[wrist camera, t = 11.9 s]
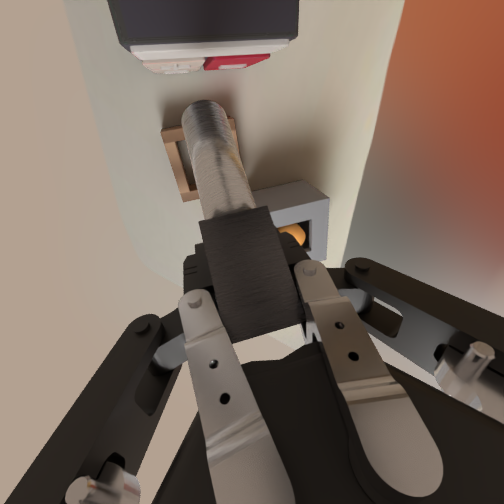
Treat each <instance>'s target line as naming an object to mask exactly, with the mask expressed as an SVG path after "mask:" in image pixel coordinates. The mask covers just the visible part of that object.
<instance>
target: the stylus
mask: <svg viewBox="0 0 504 504" xmlns="http://www.w3.org/2000/svg"><path fill="white" fill-rule="evenodd" d="M181 122H182V127H183V131H184V136H185V140H186V144H187V148H188V152H189V156H190V160H191V165H192V169H193V173H194V177H195V181H196V185H197V189H198V193H199V198H200V202H201V206H202V210H203V214H204V218H205V220H203V221H199V226H200V230H201V234H202V239H203V243H204V247H205V252H206V256H207V260H208V265H209V269H210V273H211V278H212V282H213V286H214V291H215V295H216V299H217V303H218V308H219V312H220V316H221V321H222V324H223V326H224V327H225V329H226V331H227V334H228V336H229V339H230V341H231V343H232V344H233V343H237V342H240V341H243V340H247V339H250V338H253V337H257V336H260V335H263V334H267V333H270V332H273V331H277V330H280V329H283V328H287V327H290V326H293V325H297V324H300V323H303V322H306V316H305V313H304V310H303V307H302V305H301V302H300V299H299V296H298V293H297V290H296V287H295V284H294V281H293V278H292V276H291V273H290V270H289V267H288V264H287V261H286V258H285V255H284V252H283V249H282V247H281V244H280V241H279V238H278V235H277V232H276V229H275V226H274V223H273V220H272V218H271V215H270V212H269V209H268V206H267V205H266V206H262V207H257V208H256V205H255V201H254V198H253V195H252V192H251V189H250V186H249V183H248V180H247V177H246V174H245V171H244V168H243V165H242V162H241V159H240V156H239V153H238V149H237V146H236V143H235V140H234V137H233V134H232V131H231V128H230V125H229V122H228V119H227V116H226V113H225V111H224V109H223V108H222V107H221V106H220V105H219V104H218V103H216V102H213V101H210V100H200V101H197V102H194V103H192V104H191V105H189V106H188V107H187V108H186V109H185V111H184V112H183V115H182V120H181Z"/></svg>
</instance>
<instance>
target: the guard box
mask: <svg viewBox="0 0 504 504" xmlns="http://www.w3.org/2000/svg"><path fill="white" fill-rule="evenodd" d="M252 195H253V198H254V201H255V205H256V208H257V207H262V206H266V205H267V206H268V209H269V212H270V215H271V218H272V220H273V223H274V225H275V226H276V228H278V227H282V226H286V225H290V224H294V223H298V222H300V227H301V228H302V229H303V231H304V232H305V241H304V243H303V244H302V245H301V246H302V248H303V249H304V250H305V251H306V253H307V254H308V255H309V257H310V258H311V259H312V260H316V261H319V262H320V261H323V260H326V256H327V237H328V219H329V201H330V198H329V197H327V196H326V195H325V194H323V193H322V192H320V191H319V190H318V189H316V188H315V187H313V186H312V185H311V184H309V183H308V182H306V181H305V180H300V181H296V182H291V183H287V184H283V185H278V186H274V187H269V188H265V189H261V190H256V191H252Z"/></svg>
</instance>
